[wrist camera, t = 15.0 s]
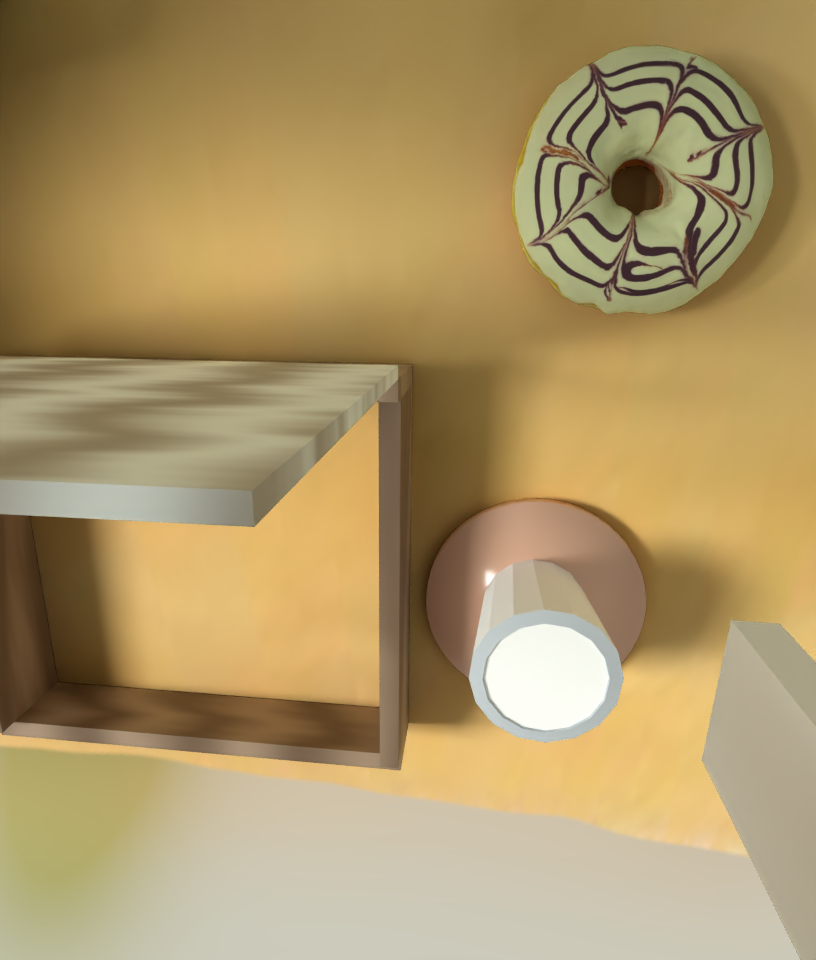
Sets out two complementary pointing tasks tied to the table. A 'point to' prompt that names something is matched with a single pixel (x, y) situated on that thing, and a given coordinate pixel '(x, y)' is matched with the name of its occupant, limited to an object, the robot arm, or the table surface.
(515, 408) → the table surface
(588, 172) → the decorated donut
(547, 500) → the terracotta saucer
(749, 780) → the robot arm
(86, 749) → the table surface
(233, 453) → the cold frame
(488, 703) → the shot glass
